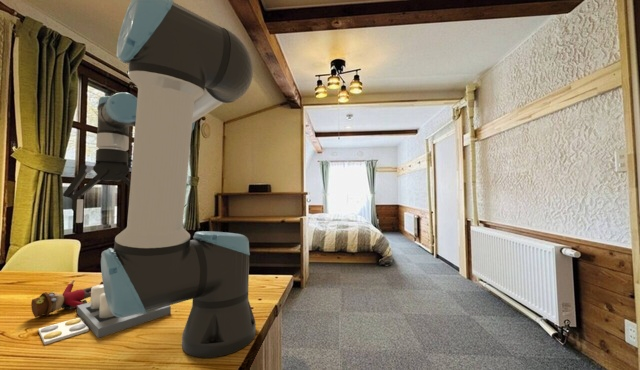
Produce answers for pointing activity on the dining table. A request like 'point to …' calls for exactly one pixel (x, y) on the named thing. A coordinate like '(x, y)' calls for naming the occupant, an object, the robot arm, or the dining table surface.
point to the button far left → (96, 296)
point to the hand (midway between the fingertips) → (110, 221)
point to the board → (116, 319)
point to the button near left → (104, 307)
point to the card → (62, 330)
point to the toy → (59, 300)
